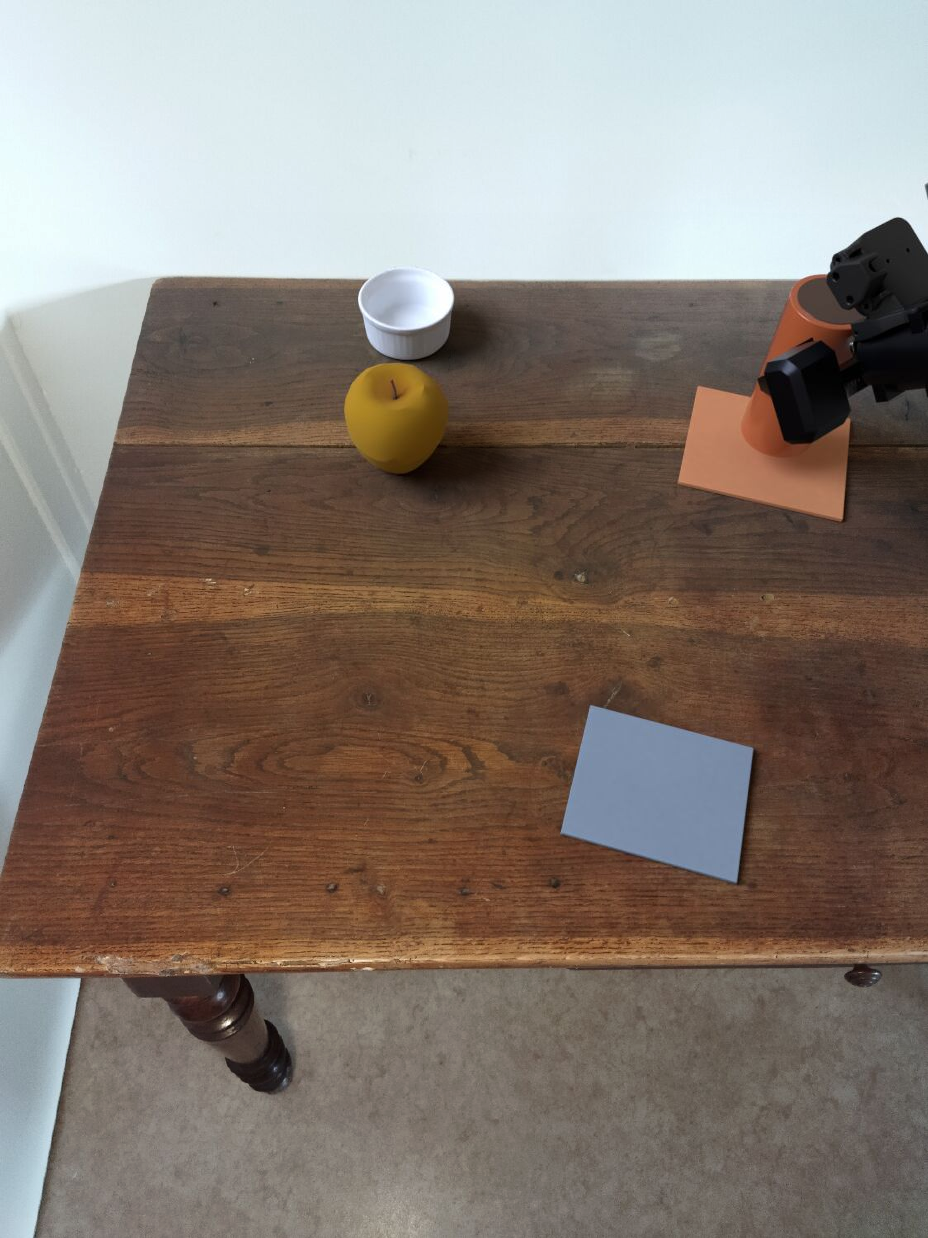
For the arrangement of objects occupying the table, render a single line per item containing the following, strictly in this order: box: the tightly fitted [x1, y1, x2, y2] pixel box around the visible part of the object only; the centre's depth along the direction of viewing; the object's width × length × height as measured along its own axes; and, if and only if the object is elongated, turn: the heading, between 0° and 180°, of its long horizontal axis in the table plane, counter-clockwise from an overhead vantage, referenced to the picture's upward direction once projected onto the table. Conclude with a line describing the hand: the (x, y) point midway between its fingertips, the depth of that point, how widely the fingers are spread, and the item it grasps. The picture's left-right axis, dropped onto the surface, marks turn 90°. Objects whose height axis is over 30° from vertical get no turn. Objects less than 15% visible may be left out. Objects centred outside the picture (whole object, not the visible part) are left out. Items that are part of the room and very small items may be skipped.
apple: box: [343, 362, 450, 475], centre depth 74 cm, size 8×8×9 cm
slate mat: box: [560, 704, 754, 885], centre depth 62 cm, size 12×10×1 cm
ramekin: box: [357, 266, 455, 361], centre depth 84 cm, size 9×9×4 cm
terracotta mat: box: [677, 385, 851, 523], centre depth 78 cm, size 14×12×1 cm
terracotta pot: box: [741, 273, 866, 458], centre depth 70 cm, size 6×6×14 cm
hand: (789, 367), depth 72 cm, fingers closed on terracotta pot, 6 cm apart
